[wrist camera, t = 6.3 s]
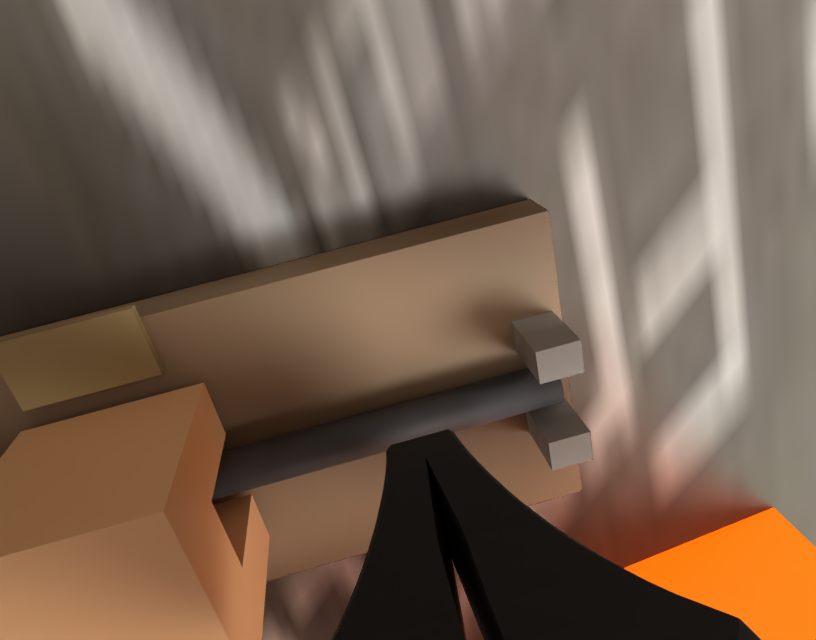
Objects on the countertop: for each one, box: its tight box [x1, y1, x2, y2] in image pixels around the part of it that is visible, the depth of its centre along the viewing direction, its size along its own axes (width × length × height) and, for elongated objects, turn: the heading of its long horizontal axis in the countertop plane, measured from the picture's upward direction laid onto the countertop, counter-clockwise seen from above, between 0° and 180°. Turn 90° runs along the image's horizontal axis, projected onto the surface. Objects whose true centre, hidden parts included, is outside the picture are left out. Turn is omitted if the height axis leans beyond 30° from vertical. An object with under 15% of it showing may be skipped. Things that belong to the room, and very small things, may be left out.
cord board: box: [0, 199, 593, 582], centre depth 13 cm, size 9×17×5 cm, turn 102°
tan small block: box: [0, 383, 270, 640], centre depth 12 cm, size 5×4×4 cm
